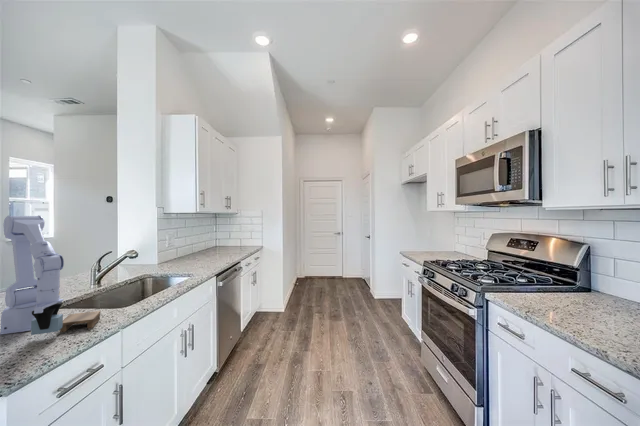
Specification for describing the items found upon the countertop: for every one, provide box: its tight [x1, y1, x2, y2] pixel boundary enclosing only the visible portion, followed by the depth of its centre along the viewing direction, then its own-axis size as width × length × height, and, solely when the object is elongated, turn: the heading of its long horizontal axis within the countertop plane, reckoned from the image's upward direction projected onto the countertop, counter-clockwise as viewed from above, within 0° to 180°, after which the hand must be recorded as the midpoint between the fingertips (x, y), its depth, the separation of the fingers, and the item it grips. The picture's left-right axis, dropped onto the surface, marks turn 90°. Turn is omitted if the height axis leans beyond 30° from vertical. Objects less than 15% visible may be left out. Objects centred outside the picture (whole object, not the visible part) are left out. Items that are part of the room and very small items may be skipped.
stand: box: [59, 310, 101, 333], centre depth 107 cm, size 10×10×4 cm
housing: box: [30, 313, 64, 336], centre depth 96 cm, size 7×4×6 cm, turn 117°
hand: (47, 326), depth 96 cm, fingers closed on housing, 4 cm apart
